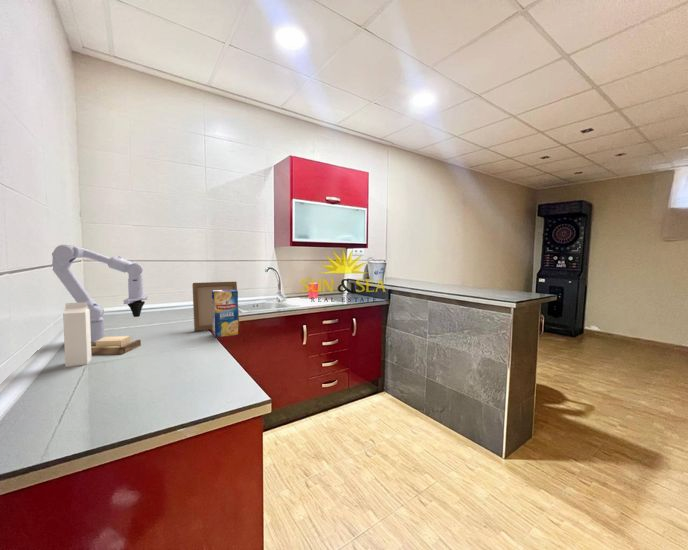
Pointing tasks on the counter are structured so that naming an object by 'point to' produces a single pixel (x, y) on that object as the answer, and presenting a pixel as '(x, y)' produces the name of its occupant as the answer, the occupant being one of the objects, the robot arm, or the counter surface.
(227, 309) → the blue cardboard box
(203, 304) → the photo frame
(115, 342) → the carton
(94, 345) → the display stand
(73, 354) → the milk
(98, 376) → the counter surface
